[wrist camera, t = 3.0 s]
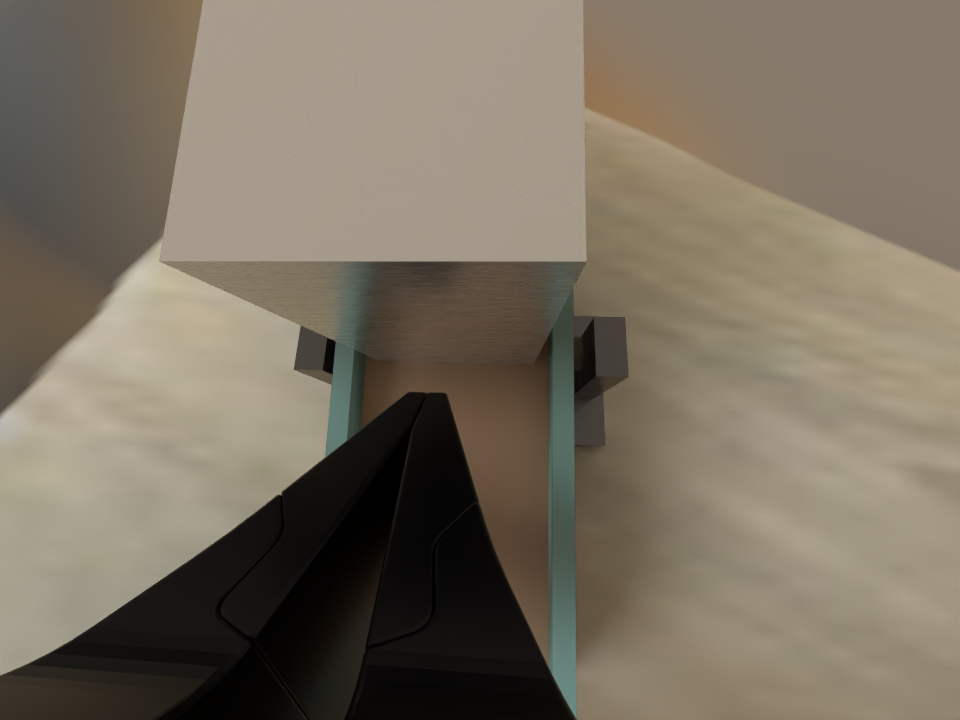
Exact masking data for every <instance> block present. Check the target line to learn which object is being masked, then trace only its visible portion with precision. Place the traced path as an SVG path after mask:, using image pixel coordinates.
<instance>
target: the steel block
mask: <svg viewBox="0 0 960 720" xmlns="http://www.w3.org/2000/svg"><path fill="white" fill-rule="evenodd" d="M583 40H584V39H583V0H203V5H202V12H201V17H200V23H199V29H198V35H197V41H196V47H195V53H194V59H193V65H192V70H191V77H190V82H189V88H188V95H187V100H186V106H185V113H184V118H183V124H182V130H181V136H180V141H179V147H178V153H177V160H176V165H175V171H174V177H173V183H172V189H171V195H170V201H169V207H168V212H167V219H166V224H165V230H164V236H163V242H162V248H161V254H160V260H159V261H160V262H162V263H164V264H166V265H168V266H171V267H173V268H175V269H177V270H179V271H182V272H184V273H186V274H188V275H191V276H193V277H195V278H197V279H199V280H202V281H204V282H206V283H208V284H210V285H213V286H215V287H217V288H219V289H221V290H224V291H226V292H228V293H230V294H232V295H235V296H237V297H239V298H241V299H244V300H246V301H248V302H250V303H252V304H255V305H257V306H259V307H261V308H263V309H266V310H268V311H270V312H272V313H274V314H277V315H279V316H281V317H283V318H285V319H288V320H290V321H292V322H294V323H297V324H299V325H301V326H303V327H305V328H308V329H310V330H312V331H314V332H316V333H319V334H321V335H323V336H325V337H327V338H330V339H332V340H334V341H336V342H338V343H341V344H343V345H345V346H347V347H349V348H352V349H354V350H356V351H358V352H361V353H363V354H365V355H367V356H369V357H372V358H374V359H376V360H378V361H380V362H425V363H475V364H525V365H533V364H534V363H535V361H536V359H537V357H538V355H539V353H540V351H541V349H542V347H543V345H544V343H545V341H546V339H547V337H548V335H549V333H550V332H551V330H552V328H553V326H554V324H555V322H556V320H557V318H558V316H559V314H560V312H561V310H562V308H563V306H564V304H565V302H566V301H567V299H568V297H569V295H570V293H571V291H572V289H573V287H574V285H575V283H576V281H577V279H578V277H579V275H580V273H581V271H582V270H583V268H584V266H585V264H586V262H587V251H586V180H585V109H584V41H583Z"/></svg>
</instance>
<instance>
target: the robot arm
mask: <svg viewBox="0 0 960 720" xmlns="http://www.w3.org/2000/svg"><path fill="white" fill-rule="evenodd" d="M281 495H282V496H281ZM281 495H277V496H276V497H274V498H273V499H272V500H271V501H269V502H268V503H267V504H266V505H264V506H263V507H262V508H260V509H259V510H258V511H257V512H255V513H254V514H253V515H251V516H250V517H249V518H247V519H246V520H245V521H243V522H242V523H241V524H239V525H238V526H237V527H236V528H234V529H233V530H232V531H230V532H229V533H228V534H226V535H225V536H223V537H222V538H220V539H219V540H218V541H216V542H215V543H213V544H212V545H211V546H209V547H208V548H206V549H205V550H203V551H202V552H201V553H199V554H198V555H196V556H195V557H194V558H192V559H191V560H189V561H188V562H186V563H185V564H183V565H182V566H181V567H179V568H178V569H176V570H175V571H173V572H172V573H170V574H169V575H167V576H166V577H164V578H163V579H162V580H160V581H159V582H157V583H156V584H154V585H153V586H151V587H150V588H148V589H147V590H145V591H144V592H143V593H141V594H140V595H138V596H137V597H135V598H134V599H132V600H131V601H129V602H128V603H126V604H125V605H124V606H122V607H121V608H119V609H118V610H116V611H115V612H113V613H112V614H110V615H109V616H107V617H106V618H105V619H103V620H102V621H100V622H99V623H97V624H96V625H94V626H93V627H91V628H90V629H88V630H87V631H85V632H84V633H82V634H81V635H79V636H77V637H76V638H74V639H73V640H71V641H69V642H68V643H66V644H64V645H62V646H61V647H59V648H57V649H56V650H54V651H52V652H50V653H48V654H46V655H44V656H42V657H40V658H38V659H36V660H35V661H33V662H31V663H29V664H27V665H24V666H22V667H20V668H17V669H15V670H12V671H10V672H8V673H5V674H3V675H1V676H0V720H577V719H576V717H575V716H574V714H573V712H572V710H571V709H570V707H569V705H568V703H567V702H566V700H565V698H564V696H563V694H562V692H561V690H560V688H559V687H558V685H557V683H556V681H555V679H554V677H553V675H552V673H551V671H550V669H549V667H548V665H547V663H546V661H545V659H544V656H543V654H542V652H541V650H540V648H539V646H538V644H537V641H536V639H535V637H534V635H533V633H532V631H531V629H530V626H529V624H528V622H527V620H526V618H525V616H524V614H523V611H522V609H521V607H520V605H519V603H518V601H517V599H516V597H515V594H514V592H513V590H512V588H511V586H510V584H509V582H508V579H507V577H506V575H505V572H504V570H503V568H502V565H501V563H500V560H499V558H498V556H497V553H496V551H495V549H494V546H493V543H492V540H491V537H490V534H489V531H488V528H487V525H486V522H485V519H484V515H483V512H482V509H481V506H480V505H479V499H478V496H477V493H476V489H475V486H474V483H473V479H472V476H471V473H470V469H469V466H468V462H467V459H466V456H465V452H464V449H463V446H462V442H461V439H460V436H459V432H458V429H457V426H456V422H455V419H454V416H453V412H452V409H451V406H450V402H449V399H448V396H447V394H446V393H442V392H430V393H428V394H427V393H426V392H408V393H406V394H405V395H404V396H402V397H401V398H400V399H399V400H397V401H396V402H395V403H394V404H392V405H391V406H390V407H389V408H387V409H386V410H385V411H383V412H382V413H381V414H380V415H378V416H377V417H376V418H375V419H373V420H372V421H371V422H370V423H368V424H367V425H366V426H364V427H363V428H362V429H361V430H359V431H358V432H357V433H356V434H354V435H353V436H352V437H351V438H349V439H348V440H347V441H346V442H344V443H343V444H342V445H340V446H339V447H338V448H337V449H335V450H334V451H333V452H332V453H330V454H329V455H328V456H327V457H325V458H324V459H323V460H321V461H320V462H319V463H318V464H316V465H315V466H314V467H313V468H311V469H310V470H309V471H308V472H306V473H305V474H304V475H302V476H301V477H300V478H299V479H297V480H296V481H295V482H294V483H292V484H291V485H290V486H289V487H287V488H286V489H285V490H283V491H282V493H281Z"/></svg>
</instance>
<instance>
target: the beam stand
mask: <svg viewBox="0 0 960 720" xmlns="http://www.w3.org/2000/svg"><path fill="white" fill-rule="evenodd" d="M573 337H581V338H582V342H583V362H582V368H581V370H580V371H574V445H578V446H605V436H604V413H603V393H604V392H605V391H607V390H608V389H610V388H612V387H613V386H615V385H616V384H618V383H620V382H621V381H623V380H624V379H626V378H628V361H627V345H626V328H625V317H590V316H573ZM335 345H336V341H334V340H332V339H330V338H327V337H325V336H323V335H321V334H319V333H316V332H314V331H312V330H310V329H308V328H305V327H303V326H301V329H300V335H299V341H298V347H297V353H296V360H295V366H294V370H296V371H299V372H301V373H304V374H306V375H309V376H311V377H314V378H316V379H319V380H321V381H324V382H326V383H329V384H331V385H332V378H333V367H334V356H335Z"/></svg>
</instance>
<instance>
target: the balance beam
mask: <svg viewBox="0 0 960 720" xmlns="http://www.w3.org/2000/svg"><path fill="white" fill-rule="evenodd" d="M582 362H583V342H582V338H581V337H573V289H572V291H571V293H570V295H569V297H568V299H567V301H566V302H565V304H564V306H563V308H562V310H561V312H560V314H559V316H558V318H557V320H556V322H555V324H554V326H553V328H552V330H551V332H550V333H549V335H548V337H547V339H546V341H545V343H544V345H543V347H542V349H541V351H540V353H539V355H538V357H537V359H536V361H535V363H534V364H533V365H525V364H475V363H425V362H380V361H378V360H376V359H374V358H372V357H369V356H367V355H365V354H363V353H361V352H358V351H356V350H354V349H352V348H349V347H347V346H345V345H343V344H341V343H338V342H336V345H335V356H334V367H333V378H332V389H331V400H330V411H329V422H328V433H327V444H326V455H325V457H327V456H328V455H329V454H330V453H332V452H333V451H334V450H335V449H337V448H338V447H339V446H340V445H342V444H343V443H344V442H346V441H347V440H348V439H349V438H351V437H352V436H353V435H354V434H356V433H357V432H358V431H359V430H361V429H362V428H363V427H364V426H366V425H367V424H368V423H370V422H371V421H372V420H373V419H375V418H376V417H377V416H378V415H380V414H381V413H382V412H383V411H385V410H386V409H387V408H389V407H390V406H391V405H392V404H394V403H395V402H396V401H397V400H399V399H400V398H401V397H402V396H404V395H405V394H406V393H408V392H426V393H427V394H428V393H430V392H442V393H446V394H447V396H448V399H449V402H450V406H451V409H452V412H453V416H454V419H455V422H456V426H457V429H458V432H459V436H460V439H461V442H462V446H463V449H464V452H465V456H466V459H467V462H468V466H469V469H470V473H471V476H472V479H473V483H474V486H475V489H476V493H477V496H478V499H479V505H480V506H481V509H482V512H483V515H484V519H485V522H486V525H487V528H488V531H489V534H490V537H491V540H492V543H493V546H494V549H495V551H496V553H497V556H498V558H499V560H500V563H501V565H502V568H503V570H504V572H505V575H506V577H507V579H508V582H509V584H510V586H511V588H512V590H513V592H514V594H515V597H516V599H517V601H518V603H519V605H520V607H521V609H522V611H523V614H524V616H525V618H526V620H527V622H528V624H529V626H530V629H531V631H532V633H533V635H534V637H535V639H536V641H537V644H538V646H539V648H540V650H541V652H542V654H543V656H544V659H545V661H546V663H547V665H548V667H549V669H550V671H551V673H552V675H553V677H554V679H555V681H556V683H557V685H558V687H559V688H560V690H561V692H562V694H563V696H564V698H565V700H566V702H567V703H568V705H569V707H570V709H571V710H572V712H573V714H574V716H575V717H576V719H577V706H576V583H575V461H574V371H580V370H581V368H582Z"/></svg>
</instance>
